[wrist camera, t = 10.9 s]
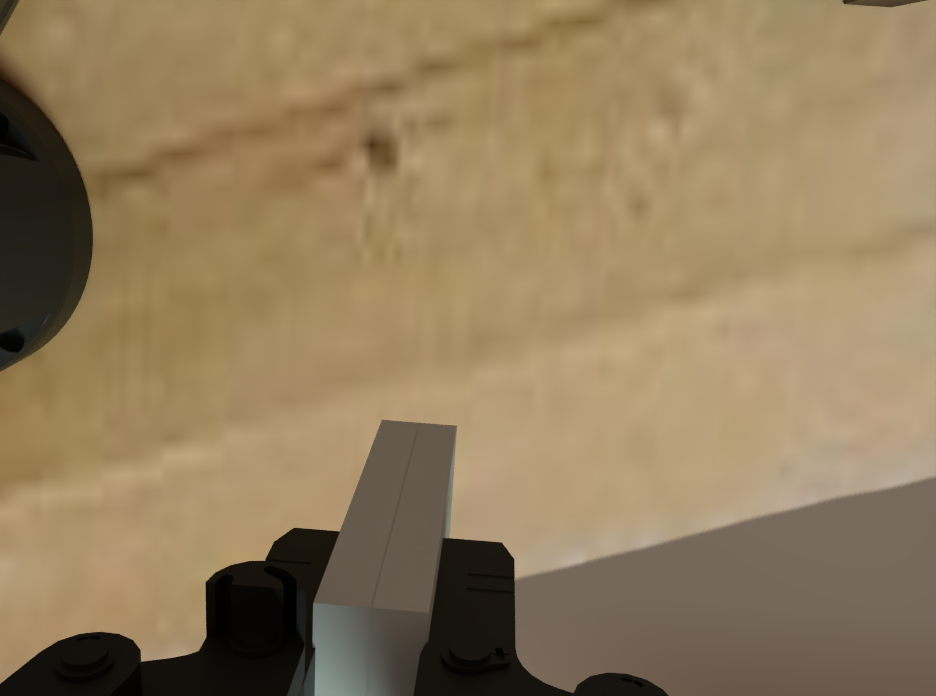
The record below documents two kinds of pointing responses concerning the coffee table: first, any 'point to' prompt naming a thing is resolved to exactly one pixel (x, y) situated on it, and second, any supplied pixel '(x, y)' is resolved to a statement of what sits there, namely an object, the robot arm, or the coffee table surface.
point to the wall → (881, 2)
